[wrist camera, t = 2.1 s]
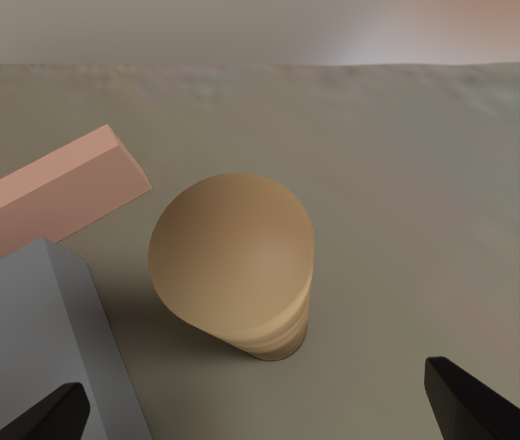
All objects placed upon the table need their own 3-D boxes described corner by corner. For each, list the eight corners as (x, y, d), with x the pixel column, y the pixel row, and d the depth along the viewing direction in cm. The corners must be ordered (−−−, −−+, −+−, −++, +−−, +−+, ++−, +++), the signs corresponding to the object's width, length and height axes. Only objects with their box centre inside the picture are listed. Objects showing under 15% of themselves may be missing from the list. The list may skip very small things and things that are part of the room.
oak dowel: (296, 372, 18) (286, 358, 7) (227, 347, 19) (119, 299, 8) (315, 300, 19) (332, 192, 8) (250, 280, 20) (187, 159, 9)
